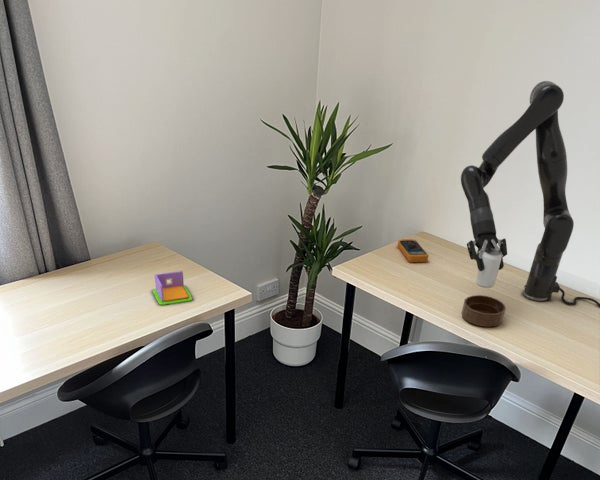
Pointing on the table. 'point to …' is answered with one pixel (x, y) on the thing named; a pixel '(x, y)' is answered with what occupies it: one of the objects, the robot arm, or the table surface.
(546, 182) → the robot arm
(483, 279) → the can
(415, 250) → the multimeter
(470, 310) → the bowl
